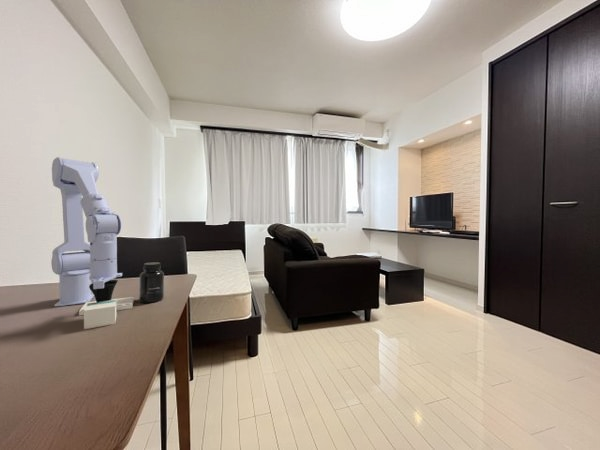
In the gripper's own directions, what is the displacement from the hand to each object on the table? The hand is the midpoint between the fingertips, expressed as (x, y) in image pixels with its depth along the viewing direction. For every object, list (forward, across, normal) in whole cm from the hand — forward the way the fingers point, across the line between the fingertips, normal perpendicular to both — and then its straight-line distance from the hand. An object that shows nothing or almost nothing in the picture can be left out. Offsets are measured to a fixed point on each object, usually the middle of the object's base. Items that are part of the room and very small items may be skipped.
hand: (104, 308), depth 68 cm
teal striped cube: (+2, -4, 0) cm, 5 cm away
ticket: (+2, +8, 0) cm, 8 cm away
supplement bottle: (+2, +10, -11) cm, 15 cm away
